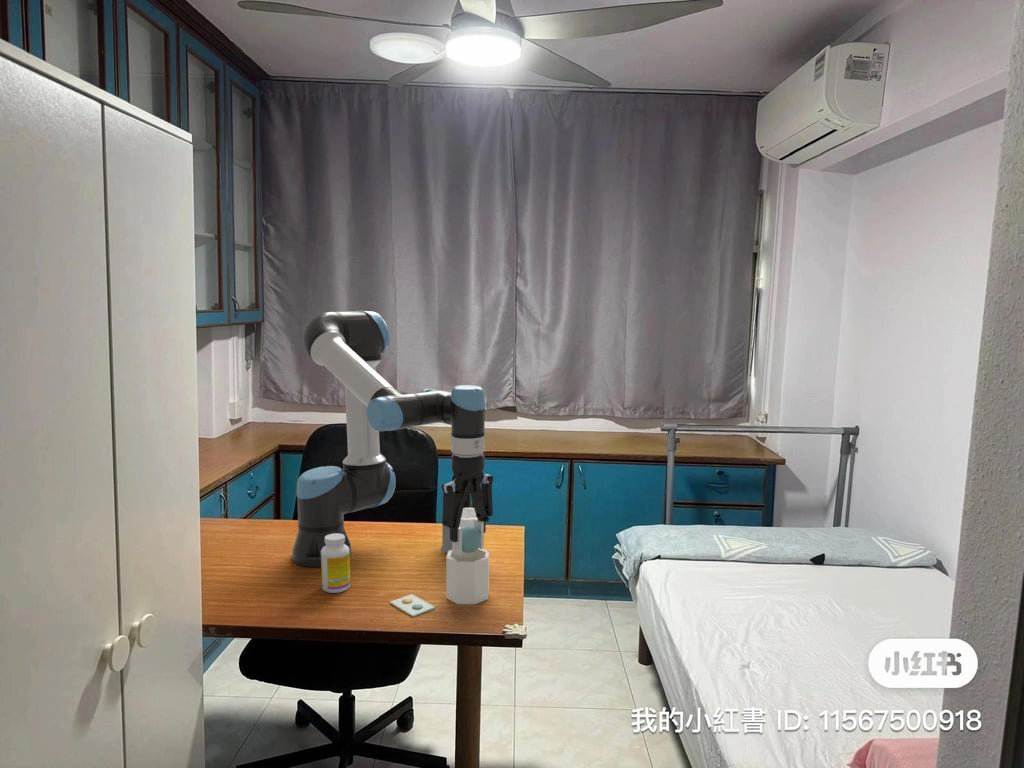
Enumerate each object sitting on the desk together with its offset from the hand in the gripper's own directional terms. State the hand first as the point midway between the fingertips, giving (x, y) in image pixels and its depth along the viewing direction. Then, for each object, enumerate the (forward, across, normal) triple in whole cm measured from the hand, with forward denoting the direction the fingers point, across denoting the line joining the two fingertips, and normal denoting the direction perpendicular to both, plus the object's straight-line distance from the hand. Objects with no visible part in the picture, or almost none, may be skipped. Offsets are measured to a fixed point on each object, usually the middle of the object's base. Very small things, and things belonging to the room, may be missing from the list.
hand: (468, 550), depth 165 cm
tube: (+11, 0, 0) cm, 11 cm away
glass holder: (+11, +18, +27) cm, 34 cm away
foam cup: (+11, +13, +16) cm, 23 cm away
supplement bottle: (+11, -21, +24) cm, 34 cm away
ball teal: (0, 0, 0) cm, 0 cm away
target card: (+11, -13, +4) cm, 17 cm away
